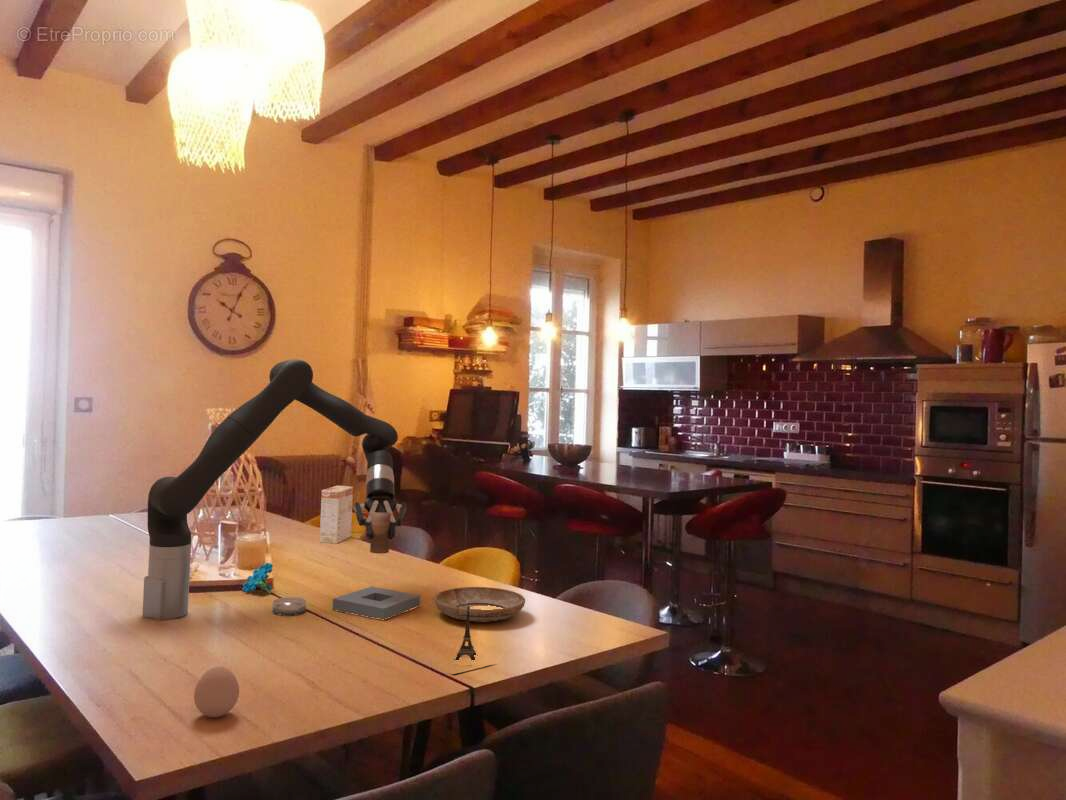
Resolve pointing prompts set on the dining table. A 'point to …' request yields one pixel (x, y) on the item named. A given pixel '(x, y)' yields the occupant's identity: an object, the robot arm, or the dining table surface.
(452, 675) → the dining table surface
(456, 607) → the ceramic bowl
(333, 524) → the coffeecake box
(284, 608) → the pedestal
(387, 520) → the peg
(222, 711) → the egg
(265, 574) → the blue flower cluster
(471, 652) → the eiffel tower figurine
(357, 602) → the hub block
